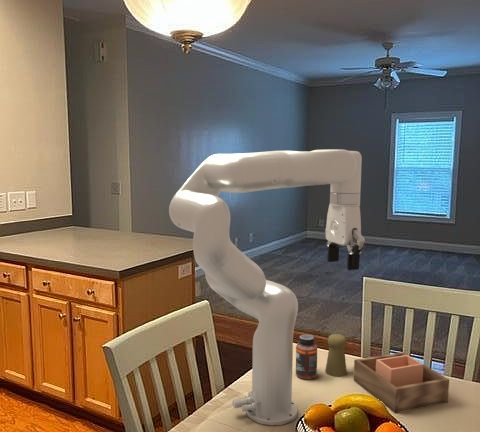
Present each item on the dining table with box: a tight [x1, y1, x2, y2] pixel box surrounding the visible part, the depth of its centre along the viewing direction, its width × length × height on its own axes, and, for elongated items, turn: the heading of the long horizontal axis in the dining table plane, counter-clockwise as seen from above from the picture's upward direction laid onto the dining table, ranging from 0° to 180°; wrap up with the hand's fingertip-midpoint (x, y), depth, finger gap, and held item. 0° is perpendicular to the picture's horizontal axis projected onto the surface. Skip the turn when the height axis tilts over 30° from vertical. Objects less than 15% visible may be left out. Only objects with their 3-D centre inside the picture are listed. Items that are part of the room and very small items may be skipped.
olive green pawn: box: [324, 333, 348, 378], centre depth 138 cm, size 6×6×11 cm
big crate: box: [353, 352, 450, 414], centre depth 128 cm, size 16×18×6 cm
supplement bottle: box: [295, 334, 318, 380], centre depth 136 cm, size 6×6×11 cm
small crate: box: [376, 354, 425, 387], centre depth 128 cm, size 10×6×7 cm, turn 110°
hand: (342, 265), depth 126 cm, fingers open, 9 cm apart
